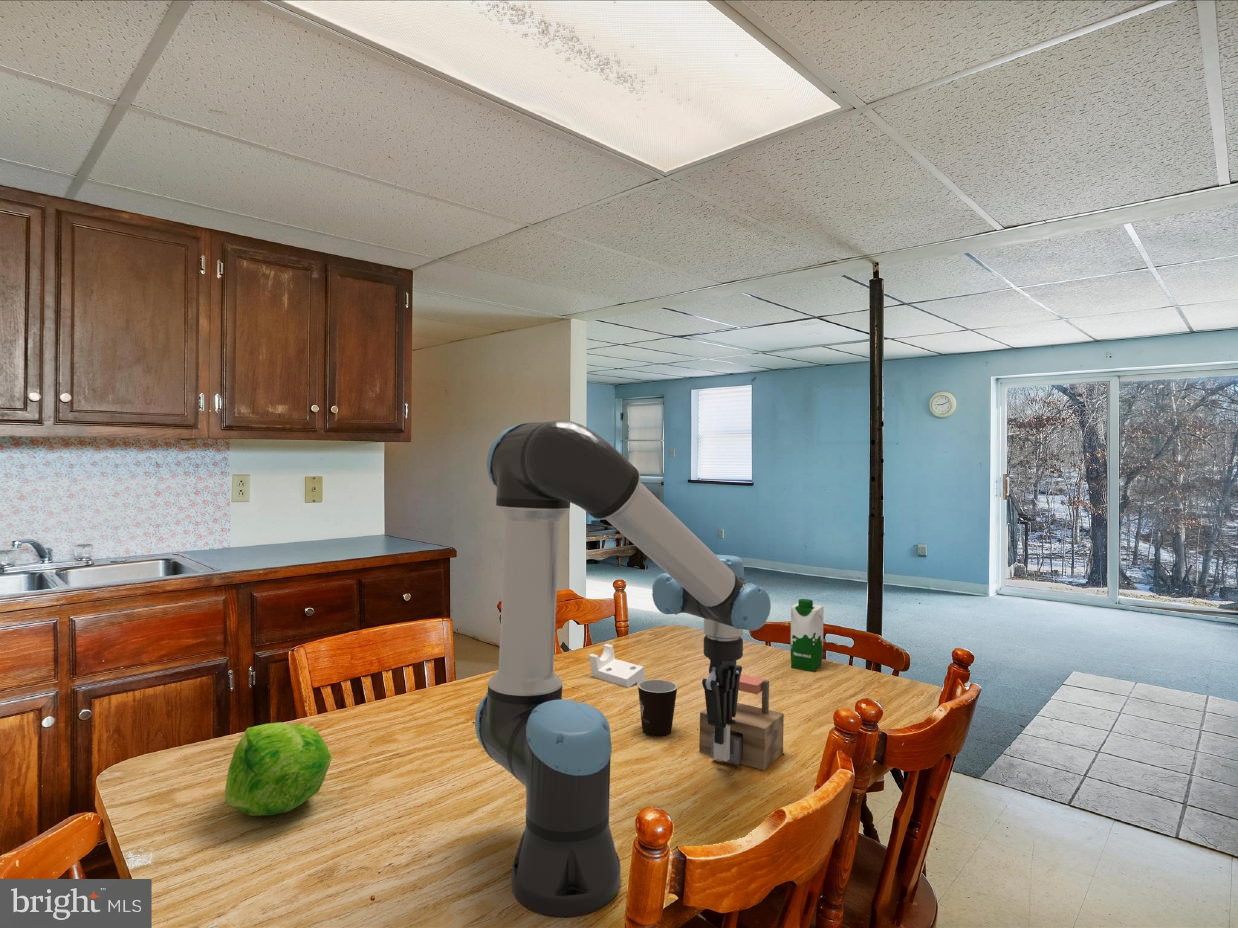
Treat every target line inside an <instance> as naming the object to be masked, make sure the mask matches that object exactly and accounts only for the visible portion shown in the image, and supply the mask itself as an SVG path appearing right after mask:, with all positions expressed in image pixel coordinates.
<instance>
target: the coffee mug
mask: <svg viewBox="0 0 1238 928" xmlns="http://www.w3.org/2000/svg"><path fill="white" fill-rule="evenodd" d="M637 689H638V690H637V691H638V699H639V701H638V702H639V711H640V720H641V721H640V722H641V731H642V733H643V734H644V735H646V736H648V737H652V738H664V737H665V738H666V737H668V736H670V735H671V734H672V730H673V729H672V728H673V722H674V715H675V708H676V707H675V706H676V699H677V691H678V685H677V684H676V683H674V682H673V681H670V680H665V679H657V678H656V679H645V680H643V681H642V682H640V683H639V684H637Z"/></svg>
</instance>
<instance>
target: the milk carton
mask: <svg viewBox="0 0 1238 928" xmlns="http://www.w3.org/2000/svg"><path fill="white" fill-rule="evenodd" d="M824 606H825V605H819V604H814V600H812V599H808V598H799V599H798V603H795V604H794V605H792V606H790V668H791V669H795V670H801V671H802V670H803V671H806V672H812V673H815V672H817V671H818V670H819V669H820V668H821V667H822V665H823V664H822V663H823V653H824V612H825V611H824V610H825V609H824Z"/></svg>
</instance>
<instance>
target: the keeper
mask: <svg viewBox="0 0 1238 928" xmlns="http://www.w3.org/2000/svg"><path fill="white" fill-rule="evenodd" d="M764 680H767V681H768V679H767V678H762V677H757V676H754V675H747V674H743V673H741V676H740V681H739V690H738V692H739V691H740V692H744V693H749V694H754V695H759V694H760V693H762V681H764Z"/></svg>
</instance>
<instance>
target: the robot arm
mask: <svg viewBox="0 0 1238 928" xmlns="http://www.w3.org/2000/svg"><path fill="white" fill-rule="evenodd" d="M486 470H487V474H488V476H489V479H490V481H491V482H492V484H493V485H494V486H495V488H496V494H495V495H496V498H495V499H496V500H495V508H496V509H497V511H499V512H500V513H501V515H502V516H503V517H504V540H503V542H504V545H503V561H502V562H503V563H502V564H503V565H502V566H503V567H502V583H501V585H502V589H501V603H500V604H501V609H500V632H499V653H498V669H497V671H496V673H494V674H493V675H492V676H491V677H490V678H489V679H488V681H487V682H488V683H487V692H485V696H484V698H483V699H481V700H480V701H479V704H478V706H477V708H476V712H475V718H474V728H475V729H474V730H475V733H476V737H477V740H478V742H479V744H480V745H481V747H482V748H483V750H484V751H485V753H486V754H487V755H488V757H489V758H490V759H492V760H493V761H494V762H495V763H496V764H498V765H499V766H501V767H503V768H504V769H505V770H506V771H507V772H508V773H509V774H510V775H512V776H513V777H514V778H515V779H516V780H517V781H519V783H521V785H523V786H524V787H525V790H526V791H525V827H524V831H523V833H522V836H521V839H520V843H519V844H518V847H517V849H516V850H517V851H516V854H515V857H514V860H513V863H512V868H511V889H512V893H513V894H514V896H515V898H516V899H517V901H518V902H520V903H521V904H522V905H523V906H524V907H526V908H527V909H530V910H531V911H534V912H536V913H538V914H542V915H546V916H551V917H576V916H580V915H586V914H589V913H591V912H595V911H597V910H599V909H601V908H602V907H604V906H606V905H608V904H609V902H611V901H612V900H613V899H614V898H615V896H616V895H617V894H616V893H618V892H619V890H620V886H621V874H622V873H621V872H622V871H621V870H622V869H621V867H622V866H621V861H620V857H619V854H618V853H617V850H616V846H615V843H614V842H615V841H614V838H613V834H612V831H611V827H610V799H611V798H610V796H611V795H610V789H611V787H610V786H611V785H610V784H611V759H612V758H611V757H612V752H613V751H612V750H613V749H612V748H613V745H612V740H611V738H612V737H611V727H610V723H609V721H608V719H607V717H606V716H605V714H604V713H603V712H602V711H600V709H598V708H596V707H595V706H594V705H591V704H589V703H586V702H583V701H581V702H576V699H575V700H574V699H573V700H572V699H563V679H562V678H561V677H560V676H559V675H558V674H557V673H556V672H555V669H554V664H555V663H554V661H555V643H556V642H555V640H556V639H555V637H556V613H557V593H558V574H559V573H558V570H559V568H558V567H559V545H560V544H559V543H560V527H561V525H560V524H561V523H560V522H561V519H562V518H563V517H564V516H565V515H566V514H567V513H568V512H569V511H570V509H571V508H570V507H571V504H573V505H576V506H577V507H579V508H580V509H582V510H584V511H585V512H586V513H588V514H589V515H590V516H591V517H592V518H594V519H595V520H598V521H601V520H603V521H604V520H606V521H607V522H608V523H609V524H610V525H612V526H613V527H614V528H615V529H616V530H617V531H619V533H621V534H622V535H623V536H624V537H625V538H626V539H627V540H628V541H630V542H631V543H632V544H633V545H634V546H635V547H637V548H638V549H639V550H640V551H641V552H642V553H643V554H645V556H647V557H648V558H649V559H650V560H652V562H654V564H656V565H657V566H658V567H659V568H660V569H661V570H662V571H664V573H663V572H662V573H660V574H658V575H657V577H655V579H654V581H653V583H652V587H651V589H652V591H651V592H652V593H651V594H652V595H651V596H652V599H653V600H652V601H653V603H654V605H655V607H656V609H657V610H658V612H661V613H662V614H664V615H675V616H677V615H679V614H689V615H692V616H694V617H697V618H701V619H703V634H704V635H705V636H704V637H703V655H704V657H706V658H708V660H710V661H709V667H708V673H709V676H708V677H707V678H702V680H701V681H702V682H701V685H702V687H703V691H704V699H705V707H706V708H705V709H707V719H708V724H709V725H712V726H714V758H713V759H715V758H716V759H715V760H718V759H719V761H721V760H723V762H725V761H728V760H729V759H730V724H733V725H734V724H735V721H736V720H732V717H735V716H736V709H737V703H738V698H739V681H740V676H741V674H742V671H743V666H742V665H739V664H737V661H738V660H741V659H742V657H743V656H744V655H743V653H744V646H743V645H744V639H743V638H742V636H743V634H744V630H746V631H750V632H751V631H753V632H754V631H757V630H759V629H761V628H762V627H764V625H765V624H766V622H767V620H768V617H770V613H771V607H772V605H771V604H772V603H771V598H770V595H769V593H768V592H767V590H766V589H765V588H764V587H762V586H759V585H756V584H755V583H752V582H748V583H747V582H745V569H744V561H743V559H742V558H741V557H739V556H736V555H729V554H728V555H727V554H715V553H714V552H713V551H712V550H711V549H710V548H709V547H708V546H707V545H706V544H705V543H704V542H703V541H702V540H701V539H700V538H699V537H698V536H696V534H695V533H693V531H692V530H690V528H689V527H688V526H686V525H685V524H684V523H683V522H682V521H681V520H680V519H679V518H678V517H677V515H675V514H674V513H673V512H672V511H671V510H670V509H669V508H668V507H667V506H666V505H664V504H663V502H661V501H660V500H659V499H658V498H657V497H656V496H655V495H654V494H653V493H652V492H651V491H650V490H649V489H648V488H647V487H646V486H645V485H644V484H643V483H642V482H641V473H640V471H639V470H638V469H637V467H635V466H634V465H633V464H632V463H631V461H629V460H628V459H627V458H626V456H624V455H623V454H622V453H621V452H620V451H619V450H617V448H615V447H614V446H613V445H611V444H610V443H609V442H608V441H607V440H605V439H604V438H603V437H602V436H600V435H599V434H598V433H597V432H595V431H594V430H592V429H590V428H588V427H587V426H585V425H583V424H580V423H577V422H575V421H571V420H565V419H564V420H563V419H561V420H552V421H535V422H534V421H533V422H523V423H520V424H516V425H514V426H511V427H507V428H506V429H505V430H503V431H502V432H500V433H499V435H498V436H497V437H496V438H495V439H494V440H493V441H492V444H491V445H490V447H489V450H488V453H487V457H486ZM618 889H619V890H618Z"/></svg>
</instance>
